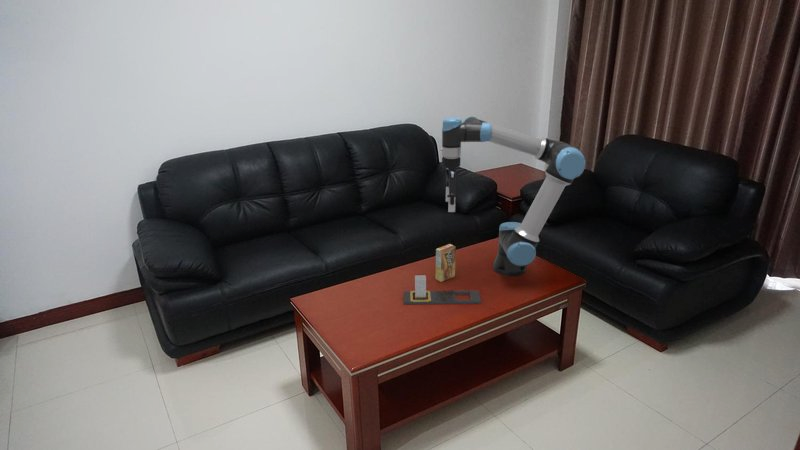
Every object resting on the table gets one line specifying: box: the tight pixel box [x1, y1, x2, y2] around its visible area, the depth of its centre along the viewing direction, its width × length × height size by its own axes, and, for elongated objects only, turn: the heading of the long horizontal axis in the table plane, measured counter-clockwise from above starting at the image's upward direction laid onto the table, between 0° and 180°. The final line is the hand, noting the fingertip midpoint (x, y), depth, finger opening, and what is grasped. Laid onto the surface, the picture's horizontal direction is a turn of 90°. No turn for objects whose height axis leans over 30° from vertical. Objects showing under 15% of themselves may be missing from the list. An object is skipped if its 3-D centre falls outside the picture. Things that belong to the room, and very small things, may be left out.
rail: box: [403, 290, 482, 305], centre depth 208 cm, size 32×9×1 cm, turn 90°
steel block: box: [414, 274, 427, 300], centre depth 207 cm, size 4×4×10 cm
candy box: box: [434, 243, 457, 282], centre depth 223 cm, size 9×4×15 cm, turn 129°
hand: (450, 206), depth 207 cm, fingers open, 13 cm apart
